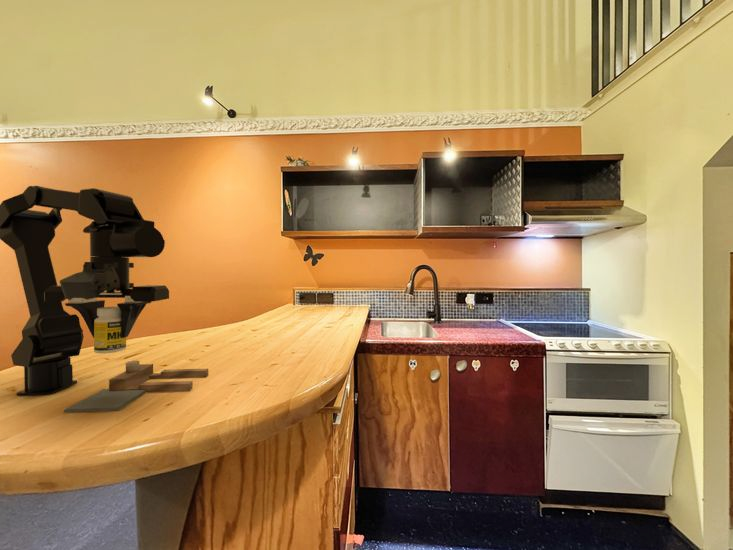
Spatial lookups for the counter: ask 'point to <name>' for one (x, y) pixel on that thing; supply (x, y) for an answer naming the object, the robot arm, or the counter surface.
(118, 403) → the mat
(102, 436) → the counter surface
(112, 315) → the supplement bottle
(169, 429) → the counter surface
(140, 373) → the plane body
